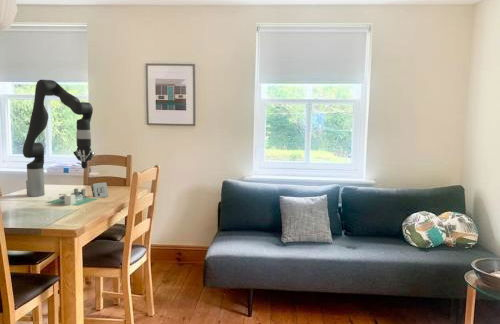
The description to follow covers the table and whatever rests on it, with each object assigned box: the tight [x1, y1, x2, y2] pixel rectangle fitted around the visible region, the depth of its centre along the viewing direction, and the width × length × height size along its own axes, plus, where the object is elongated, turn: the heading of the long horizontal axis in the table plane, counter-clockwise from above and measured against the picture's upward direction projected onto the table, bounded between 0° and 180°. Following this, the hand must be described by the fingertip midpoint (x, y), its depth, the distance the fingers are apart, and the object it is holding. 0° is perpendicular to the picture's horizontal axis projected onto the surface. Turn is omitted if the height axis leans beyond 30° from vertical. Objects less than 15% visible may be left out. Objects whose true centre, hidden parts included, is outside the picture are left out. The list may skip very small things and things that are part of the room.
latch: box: [58, 192, 76, 206], centre depth 227 cm, size 8×4×6 cm, turn 76°
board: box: [45, 187, 98, 207], centre depth 235 cm, size 22×19×7 cm
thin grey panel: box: [58, 191, 81, 199], centre depth 234 cm, size 16×3×1 cm, turn 166°
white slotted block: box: [60, 194, 84, 202], centre depth 234 cm, size 9×9×3 cm
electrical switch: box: [90, 181, 109, 199], centre depth 252 cm, size 9×5×9 cm, turn 141°
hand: (84, 168), depth 229 cm, fingers closed
